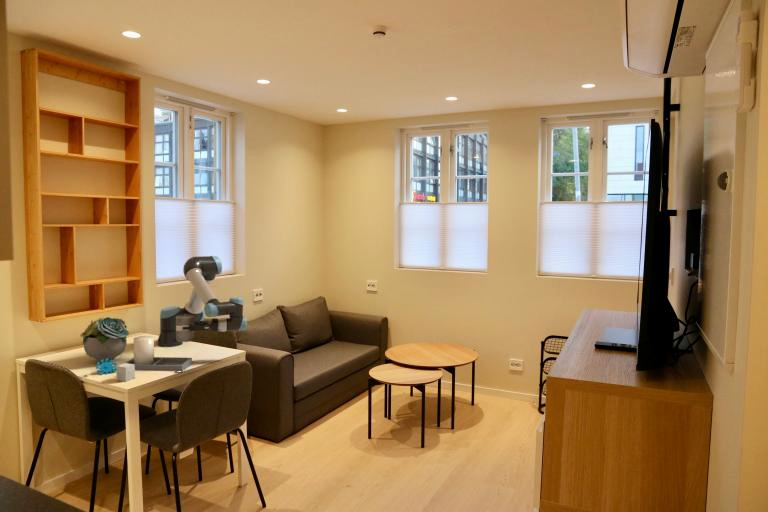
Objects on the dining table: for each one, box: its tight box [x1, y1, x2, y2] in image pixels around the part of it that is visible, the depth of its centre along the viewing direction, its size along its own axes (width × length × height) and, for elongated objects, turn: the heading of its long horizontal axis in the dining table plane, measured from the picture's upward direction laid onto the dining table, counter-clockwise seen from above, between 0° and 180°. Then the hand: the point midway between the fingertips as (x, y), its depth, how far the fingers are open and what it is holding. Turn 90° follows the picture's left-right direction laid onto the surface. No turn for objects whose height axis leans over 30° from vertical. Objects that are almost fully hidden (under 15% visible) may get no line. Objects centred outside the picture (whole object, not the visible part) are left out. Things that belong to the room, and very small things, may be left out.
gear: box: [95, 358, 117, 376], centre depth 271 cm, size 11×6×10 cm
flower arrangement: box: [79, 316, 130, 364], centre depth 293 cm, size 25×25×24 cm
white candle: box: [133, 335, 155, 365], centre depth 283 cm, size 10×10×15 cm
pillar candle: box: [176, 314, 195, 343], centre depth 296 cm, size 10×10×15 cm
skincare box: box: [115, 362, 136, 382], centre depth 263 cm, size 6×6×7 cm
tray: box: [125, 356, 193, 373], centre depth 284 cm, size 16×31×4 cm, turn 93°
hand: (176, 326), depth 295 cm, fingers closed on pillar candle, 9 cm apart
